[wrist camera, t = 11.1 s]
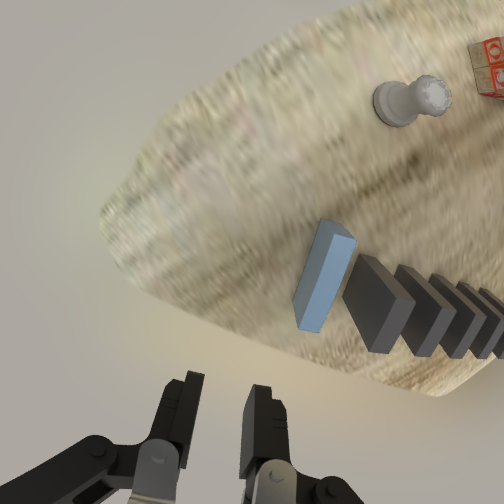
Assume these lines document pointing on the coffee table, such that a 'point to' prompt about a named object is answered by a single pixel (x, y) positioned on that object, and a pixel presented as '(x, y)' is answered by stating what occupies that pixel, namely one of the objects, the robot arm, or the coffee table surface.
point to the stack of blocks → (489, 66)
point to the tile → (322, 275)
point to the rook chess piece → (411, 100)
